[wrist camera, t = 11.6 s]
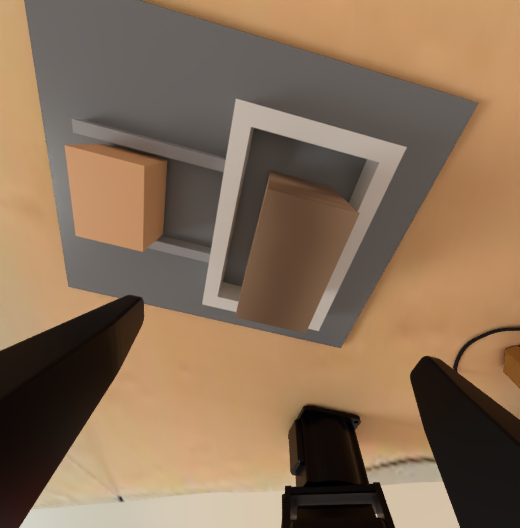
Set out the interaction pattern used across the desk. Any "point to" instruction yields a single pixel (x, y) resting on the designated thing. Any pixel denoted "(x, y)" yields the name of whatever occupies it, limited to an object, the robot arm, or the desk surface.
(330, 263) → the block
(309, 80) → the grey base board
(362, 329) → the desk surface
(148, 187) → the block
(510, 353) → the multimeter
